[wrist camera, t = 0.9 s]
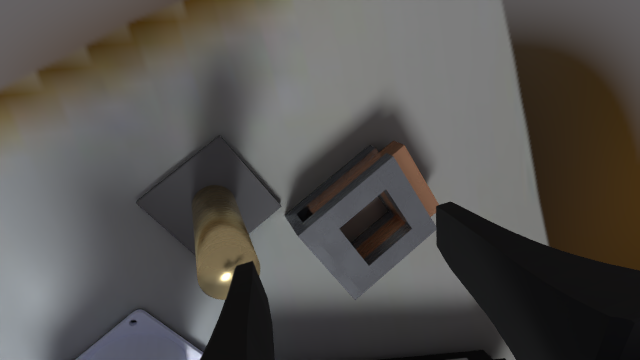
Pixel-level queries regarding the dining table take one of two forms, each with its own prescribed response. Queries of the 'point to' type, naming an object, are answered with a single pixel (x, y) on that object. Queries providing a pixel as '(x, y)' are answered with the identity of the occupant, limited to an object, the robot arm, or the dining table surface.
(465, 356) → the game console
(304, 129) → the dining table surface
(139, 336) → the robot arm
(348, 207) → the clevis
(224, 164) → the rubber mat
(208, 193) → the brass peg
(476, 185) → the dining table surface
